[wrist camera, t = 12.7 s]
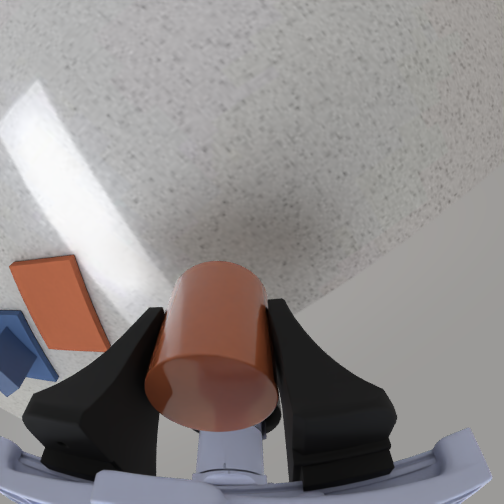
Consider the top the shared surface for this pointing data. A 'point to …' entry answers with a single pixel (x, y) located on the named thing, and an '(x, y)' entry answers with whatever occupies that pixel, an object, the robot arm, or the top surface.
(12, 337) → the blue cube
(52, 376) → the blue mat
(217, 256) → the top surface
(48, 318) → the terracotta mat
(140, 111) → the top surface
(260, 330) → the terracotta cylinder
